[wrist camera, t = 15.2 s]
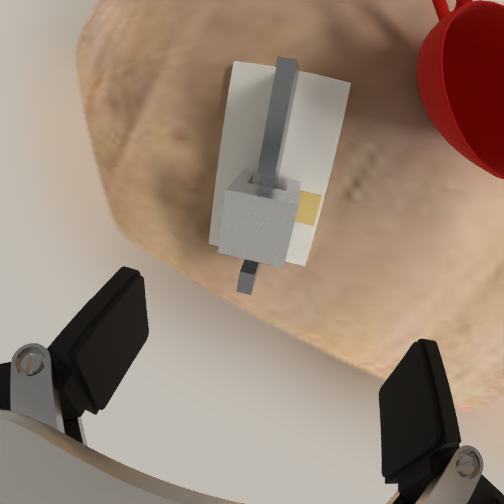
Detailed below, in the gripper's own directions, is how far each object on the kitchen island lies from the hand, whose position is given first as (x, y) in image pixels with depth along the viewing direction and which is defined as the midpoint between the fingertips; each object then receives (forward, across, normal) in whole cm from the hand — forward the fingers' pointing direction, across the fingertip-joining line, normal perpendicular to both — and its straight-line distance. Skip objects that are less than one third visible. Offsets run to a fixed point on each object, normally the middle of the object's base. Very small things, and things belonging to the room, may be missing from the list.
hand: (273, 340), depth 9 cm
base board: (+20, +3, 0) cm, 20 cm away
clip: (+18, +3, +2) cm, 18 cm away
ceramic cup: (+21, -11, -14) cm, 28 cm away
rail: (+19, +3, -1) cm, 19 cm away
